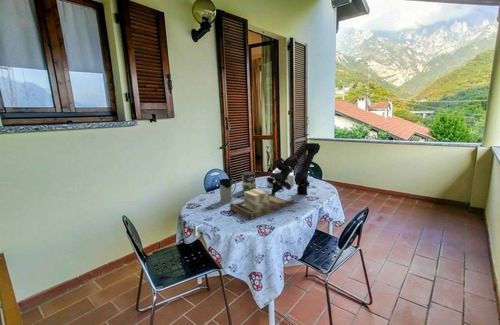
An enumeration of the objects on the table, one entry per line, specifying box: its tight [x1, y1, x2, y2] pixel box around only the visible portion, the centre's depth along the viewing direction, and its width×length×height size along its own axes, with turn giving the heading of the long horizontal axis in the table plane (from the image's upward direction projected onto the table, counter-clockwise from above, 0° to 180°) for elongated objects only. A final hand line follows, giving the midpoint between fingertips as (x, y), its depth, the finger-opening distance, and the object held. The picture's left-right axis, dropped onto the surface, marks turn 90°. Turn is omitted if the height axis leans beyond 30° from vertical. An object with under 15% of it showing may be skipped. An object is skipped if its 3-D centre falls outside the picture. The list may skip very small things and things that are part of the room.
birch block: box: [243, 187, 270, 210], centre depth 154 cm, size 11×11×9 cm
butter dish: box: [271, 167, 295, 187], centre depth 207 cm, size 18×18×16 cm
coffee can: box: [241, 171, 257, 193], centre depth 190 cm, size 10×10×14 cm
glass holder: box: [219, 178, 237, 204], centre depth 171 cm, size 9×14×15 cm, turn 137°
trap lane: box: [229, 192, 295, 221], centre depth 158 cm, size 36×20×4 cm, turn 126°
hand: (272, 194), depth 161 cm, fingers closed
